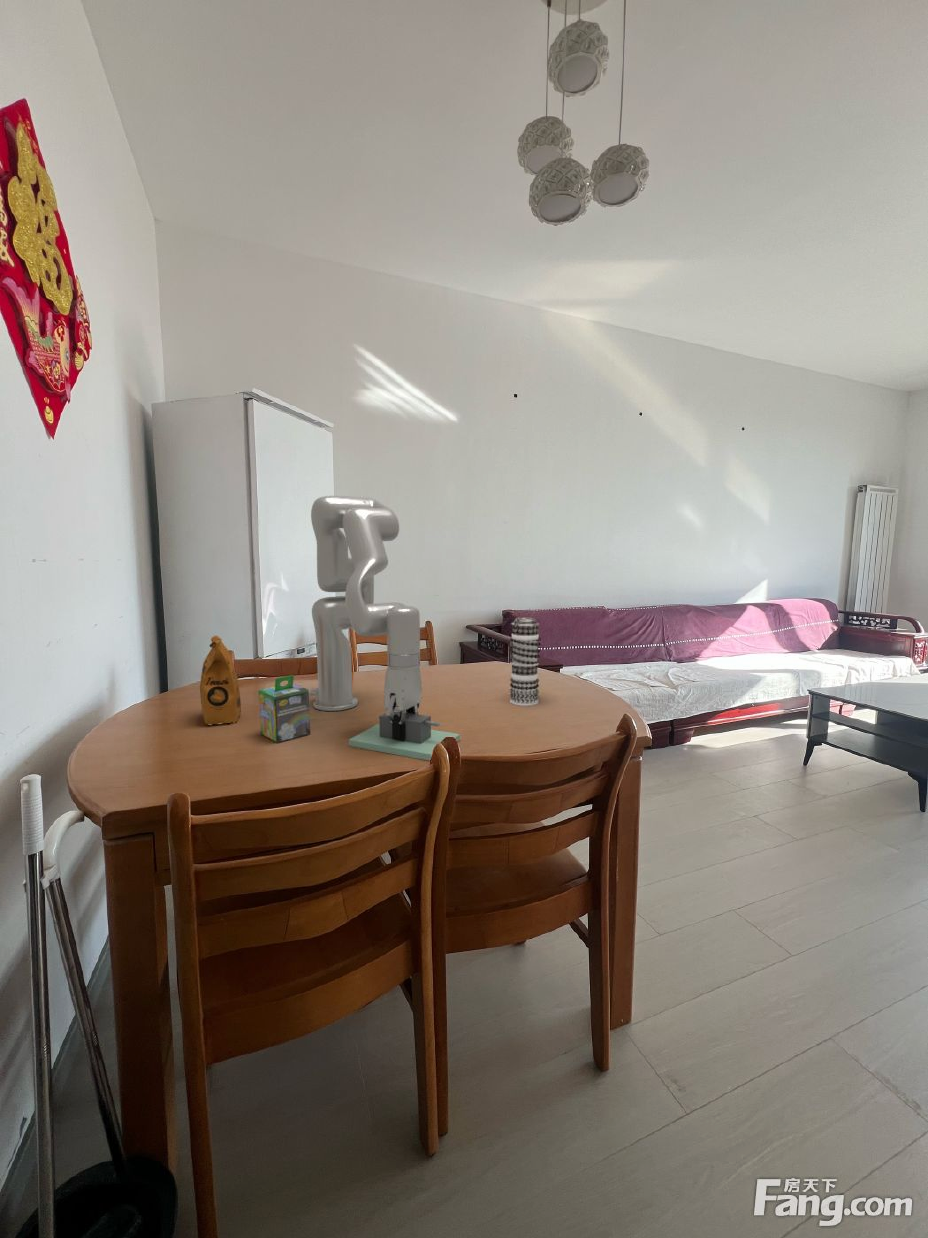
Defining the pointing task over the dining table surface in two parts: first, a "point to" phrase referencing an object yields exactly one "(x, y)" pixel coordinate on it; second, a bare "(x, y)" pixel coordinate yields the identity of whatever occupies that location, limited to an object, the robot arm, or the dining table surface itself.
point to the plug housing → (409, 727)
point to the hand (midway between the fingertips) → (405, 734)
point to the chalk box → (284, 710)
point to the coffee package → (219, 686)
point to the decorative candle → (524, 662)
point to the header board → (399, 743)
